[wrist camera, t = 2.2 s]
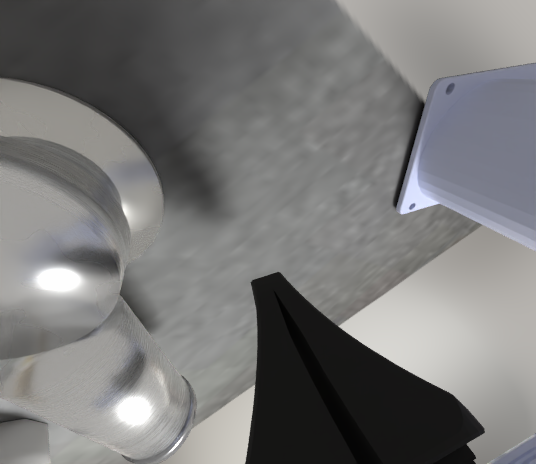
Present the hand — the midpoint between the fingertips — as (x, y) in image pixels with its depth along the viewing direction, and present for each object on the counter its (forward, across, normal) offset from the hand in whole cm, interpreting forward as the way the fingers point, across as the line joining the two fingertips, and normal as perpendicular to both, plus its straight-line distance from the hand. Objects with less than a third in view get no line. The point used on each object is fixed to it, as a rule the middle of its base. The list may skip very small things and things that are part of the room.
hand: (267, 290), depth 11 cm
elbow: (+2, +7, 0) cm, 7 cm away
